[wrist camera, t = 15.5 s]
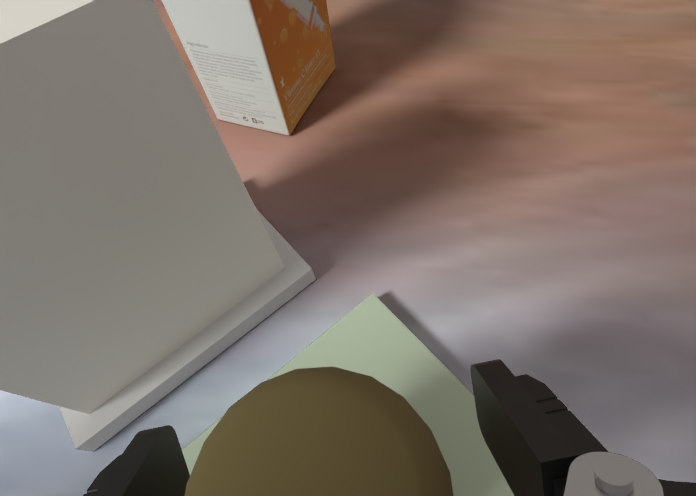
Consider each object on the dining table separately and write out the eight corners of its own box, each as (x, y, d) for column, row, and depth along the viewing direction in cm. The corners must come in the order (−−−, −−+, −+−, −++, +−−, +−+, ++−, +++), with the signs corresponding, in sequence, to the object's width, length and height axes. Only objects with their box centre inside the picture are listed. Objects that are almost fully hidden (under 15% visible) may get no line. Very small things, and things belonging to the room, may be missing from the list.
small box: (291, 139, 28) (221, -94, 17) (216, 120, 30) (108, -99, 19) (338, 67, 32) (306, -163, 21) (269, 55, 34) (204, -162, 23)
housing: (93, 451, 19) (-580, 346, 6) (37, 315, 23) (-428, 78, 10) (316, 279, 22) (198, -26, 9) (232, 187, 26) (71, -111, 13)
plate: (340, 811, 12) (336, 828, 12) (169, 468, 18) (160, 467, 17) (582, 512, 16) (590, 513, 15) (373, 299, 21) (372, 293, 20)
